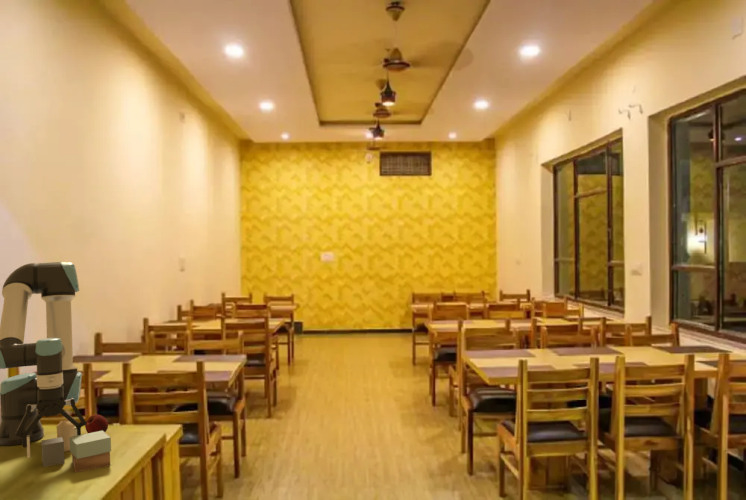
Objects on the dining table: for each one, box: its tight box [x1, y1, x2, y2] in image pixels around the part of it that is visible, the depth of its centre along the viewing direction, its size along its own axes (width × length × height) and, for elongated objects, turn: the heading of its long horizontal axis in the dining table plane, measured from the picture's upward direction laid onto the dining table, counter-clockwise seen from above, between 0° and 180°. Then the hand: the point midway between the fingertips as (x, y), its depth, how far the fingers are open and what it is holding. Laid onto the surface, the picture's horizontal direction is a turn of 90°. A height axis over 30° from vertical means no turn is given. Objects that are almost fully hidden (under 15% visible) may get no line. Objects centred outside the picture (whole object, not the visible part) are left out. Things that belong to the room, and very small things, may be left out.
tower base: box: [71, 452, 111, 473], centre depth 196 cm, size 10×10×4 cm
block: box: [40, 437, 65, 468], centre depth 199 cm, size 6×6×7 cm
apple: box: [84, 414, 109, 434], centre depth 226 cm, size 7×8×8 cm
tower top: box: [69, 431, 112, 459], centre depth 196 cm, size 10×10×4 cm
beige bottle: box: [56, 419, 75, 453], centre depth 212 cm, size 6×6×10 cm
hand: (52, 452), depth 199 cm, fingers open, 13 cm apart
